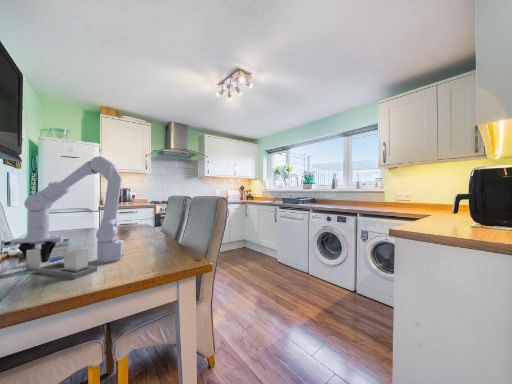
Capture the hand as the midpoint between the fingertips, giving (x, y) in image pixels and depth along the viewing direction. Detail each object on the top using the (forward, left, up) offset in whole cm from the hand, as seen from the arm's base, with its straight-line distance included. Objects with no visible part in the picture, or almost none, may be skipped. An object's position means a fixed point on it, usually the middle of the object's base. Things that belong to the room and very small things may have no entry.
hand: (38, 262), depth 80 cm
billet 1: (0, 0, -2) cm, 2 cm away
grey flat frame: (-13, +10, -3) cm, 17 cm away
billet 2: (-17, +13, -2) cm, 21 cm away
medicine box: (0, -12, -3) cm, 12 cm away
